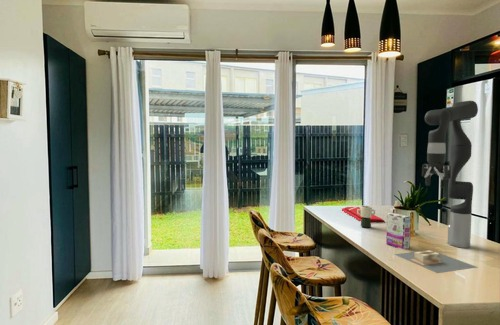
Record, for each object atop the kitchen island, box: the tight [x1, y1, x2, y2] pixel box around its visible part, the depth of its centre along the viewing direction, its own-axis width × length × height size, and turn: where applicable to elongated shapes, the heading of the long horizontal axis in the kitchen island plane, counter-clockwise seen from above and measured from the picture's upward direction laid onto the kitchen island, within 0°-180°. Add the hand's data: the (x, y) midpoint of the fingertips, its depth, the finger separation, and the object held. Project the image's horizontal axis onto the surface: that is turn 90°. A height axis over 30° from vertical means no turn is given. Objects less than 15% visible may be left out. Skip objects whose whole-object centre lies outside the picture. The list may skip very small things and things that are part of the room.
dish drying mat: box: [341, 206, 386, 223], centre depth 243 cm, size 16×41×4 cm, turn 4°
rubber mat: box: [394, 249, 478, 274], centre depth 149 cm, size 24×22×1 cm
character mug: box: [357, 205, 376, 228], centre depth 211 cm, size 11×7×13 cm, turn 82°
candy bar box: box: [386, 212, 412, 250], centre depth 170 cm, size 11×5×16 cm, turn 23°
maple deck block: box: [413, 249, 440, 264], centre depth 147 cm, size 9×5×4 cm, turn 108°
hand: (435, 186), depth 158 cm, fingers open, 8 cm apart
